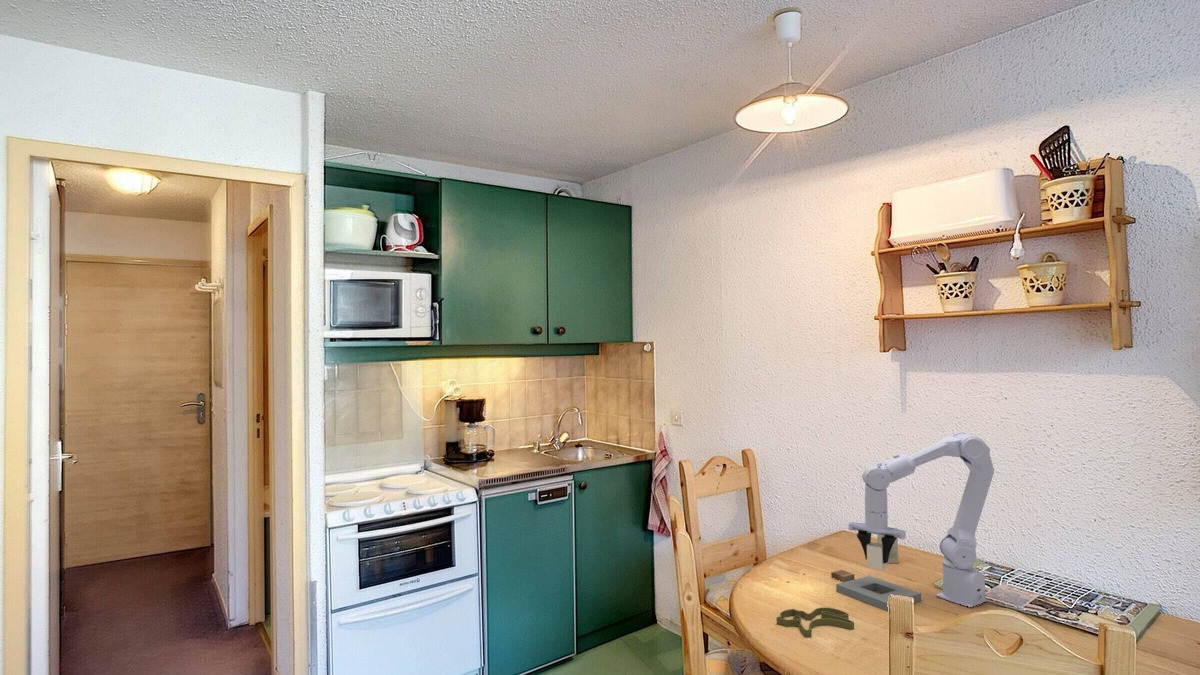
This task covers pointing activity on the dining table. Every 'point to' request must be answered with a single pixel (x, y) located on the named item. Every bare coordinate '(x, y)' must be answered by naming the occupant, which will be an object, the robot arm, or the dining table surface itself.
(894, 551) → the box
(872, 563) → the peg
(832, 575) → the short block
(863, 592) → the board
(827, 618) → the cookie cutter
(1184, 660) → the dining table surface
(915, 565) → the dining table surface
